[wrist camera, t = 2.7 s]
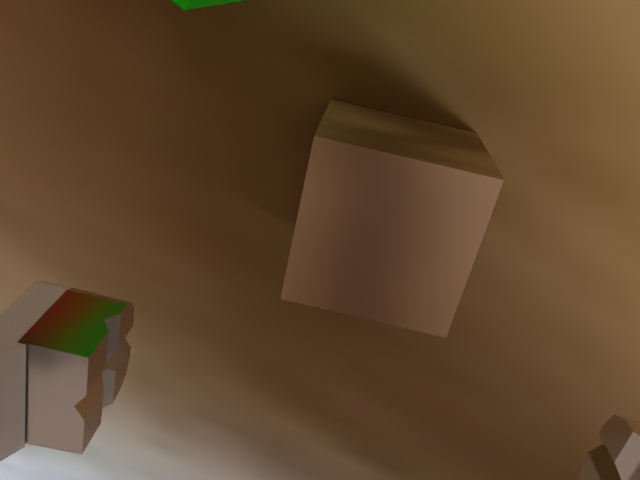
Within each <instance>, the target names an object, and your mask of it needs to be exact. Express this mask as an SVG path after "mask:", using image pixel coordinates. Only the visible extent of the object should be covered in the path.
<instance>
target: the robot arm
mask: <svg viewBox="0 0 640 480" xmlns="http://www.w3.org/2000/svg"><path fill="white" fill-rule="evenodd" d="M133 318H134V307H133V304H132V303H131V302H127V301H123V300H119V299H115V298H111V297H107V296H103V295H99V294H95V293H91V292H87V291H83V290H79V289H75V288H70V287H67V286H63V285H59V284H54V283H50V282H46V281H40V282H36V283H34V284H33V285H32V286H31V287H30V288H29V289H28V290H26V291H25V292H24V293H23V294H22V295H21V296H20V297H19V298H18V299H17V300H16V301H15V302H13V303H12V304H11V305H10V306H9V307H8V308H7V309H6V310H5V311H4V312H3V313H1V314H0V461H2V460H3V459H5V458H7V457H8V456H10V455H12V454H13V453H15V452H17V451H18V450H20V449H22V448H23V447H25V444H31V445H36V446H41V447H46V448H51V449H57V450H62V451H67V452H72V453H77V454H82V453H83V452H84V450H85V448H86V447H87V445H88V443H89V442H90V440H91V438H92V437H93V435H94V433H95V432H96V430H97V428H98V427H99V425H100V423H101V416H102V408H104V407H106V406H108V405H110V404H112V403H113V401H114V400H115V398H116V396H117V394H118V392H119V391H120V388H121V385H122V383H123V380H124V378H125V375H126V371H127V367H128V363H129V357H130V349H131V347H130V346H129V344H128V342H127V341H126V339H125V337H126V335H127V334H128V332H129V331H130V329H131V328H132V326H133ZM599 433H600V437H601V440H602V445H600V446H598V447H597V448H595V449H593V450H591V451H589V452H588V453H587V455H586V457H585V459H584V461H583V463H582V465H581V467H580V475H579V480H640V421H639V420H634V419H630V418H625V417H621V416H616V415H614V416H613V417H611V418H610V419H609V420H607V421H606V422H605V424H604V426H603V427H602V429H601V431H600V432H599Z"/></svg>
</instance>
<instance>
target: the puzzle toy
mask: <svg viewBox="0 0 640 480" xmlns="http://www.w3.org/2000/svg"><path fill="white" fill-rule="evenodd" d="M171 1H173V2H174V3H175V4H177V5H178V6H179V7H180V8H182V9H183V10H190V9H196V8H202V7H208V6H214V5H220V4H226V3H233V2H239V1H245V0H171Z"/></svg>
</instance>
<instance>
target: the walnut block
mask: <svg viewBox="0 0 640 480" xmlns="http://www.w3.org/2000/svg"><path fill="white" fill-rule="evenodd" d="M503 183H504V179H503V177H502V175H501V174H500V172H499V170H498V169H497V167H496V165H495V163H494V162H493V160H492V158H491V157H490V155H489V153H488V151H487V150H486V148H485V146H484V145H483V143H482V141H481V139H480V138H479V136H478V134H477V133H475V132H470V131H466V130H462V129H457V128H453V127H449V126H445V125H440V124H436V123H432V122H427V121H423V120H419V119H415V118H410V117H406V116H402V115H397V114H393V113H389V112H385V111H380V110H376V109H372V108H367V107H363V106H359V105H355V104H350V103H346V102H342V101H337V100H333V99H330V102H329V104H328V106H327V108H326V110H325V113H324V115H323V117H322V119H321V121H320V124H319V126H318V128H317V130H316V132H315V135H314V138H313V143H312V148H311V153H310V157H309V162H308V167H307V172H306V177H305V181H304V186H303V191H302V196H301V201H300V205H299V210H298V215H297V220H296V225H295V230H294V234H293V239H292V244H291V249H290V254H289V258H288V263H287V268H286V273H285V278H284V282H283V287H282V292H281V297H280V299H282V300H286V301H290V302H295V303H299V304H303V305H307V306H312V307H316V308H320V309H324V310H329V311H333V312H337V313H341V314H346V315H350V316H354V317H358V318H363V319H367V320H371V321H375V322H379V323H384V324H388V325H392V326H396V327H401V328H405V329H409V330H413V331H418V332H422V333H426V334H430V335H435V336H439V337H443V338H446V337H447V334H448V332H449V329H450V326H451V324H452V321H453V318H454V315H455V313H456V310H457V307H458V305H459V302H460V299H461V296H462V294H463V291H464V288H465V286H466V283H467V280H468V277H469V275H470V272H471V269H472V267H473V264H474V261H475V258H476V256H477V253H478V250H479V248H480V245H481V242H482V239H483V237H484V234H485V231H486V229H487V226H488V223H489V220H490V218H491V215H492V212H493V210H494V207H495V204H496V202H497V199H498V196H499V193H500V191H501V188H502V185H503Z"/></svg>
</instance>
